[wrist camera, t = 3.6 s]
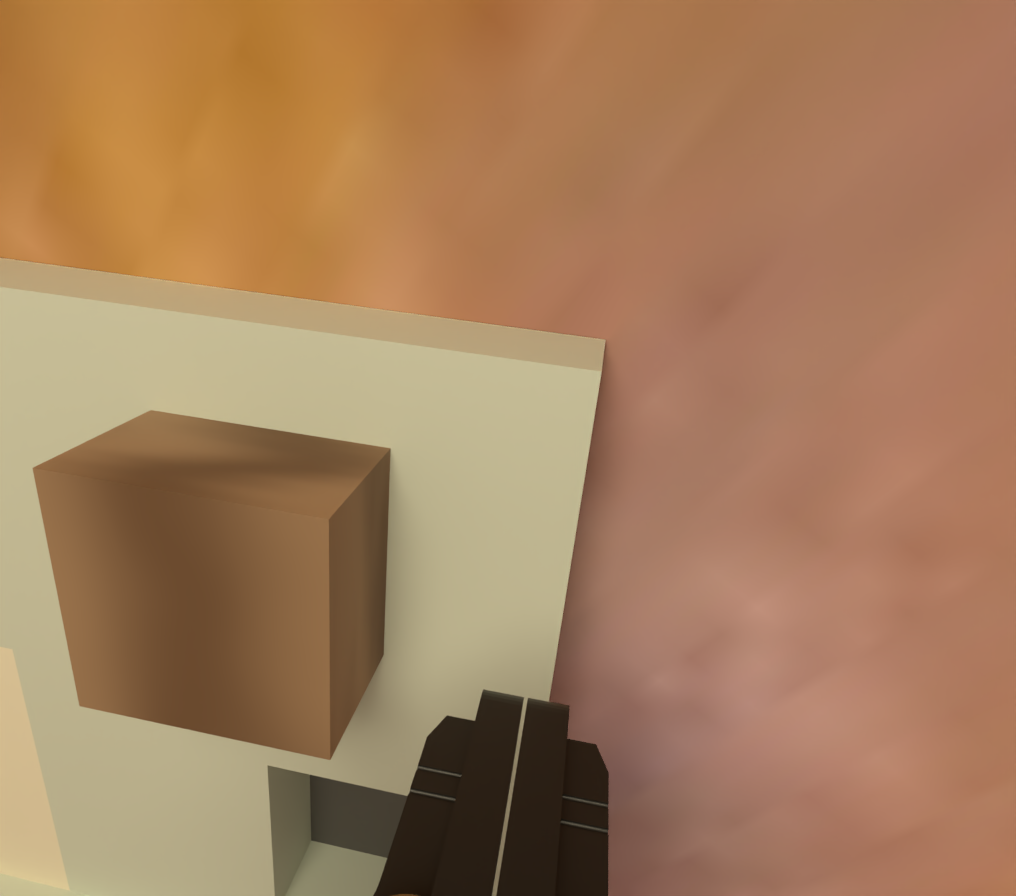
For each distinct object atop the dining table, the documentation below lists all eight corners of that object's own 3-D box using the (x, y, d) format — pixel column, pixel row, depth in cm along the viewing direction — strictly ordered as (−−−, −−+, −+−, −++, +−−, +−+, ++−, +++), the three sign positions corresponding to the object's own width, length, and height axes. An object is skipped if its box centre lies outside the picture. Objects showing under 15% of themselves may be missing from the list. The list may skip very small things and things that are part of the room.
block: (390, 448, 15) (328, 519, 12) (383, 654, 18) (330, 760, 15) (150, 410, 16) (32, 467, 13) (174, 614, 18) (79, 706, 15)
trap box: (608, 324, 16) (601, 379, 12) (511, 929, 26) (487, 1092, 21) (-249, 209, 19) (-523, 220, 15) (-60, 793, 28) (-191, 911, 24)
